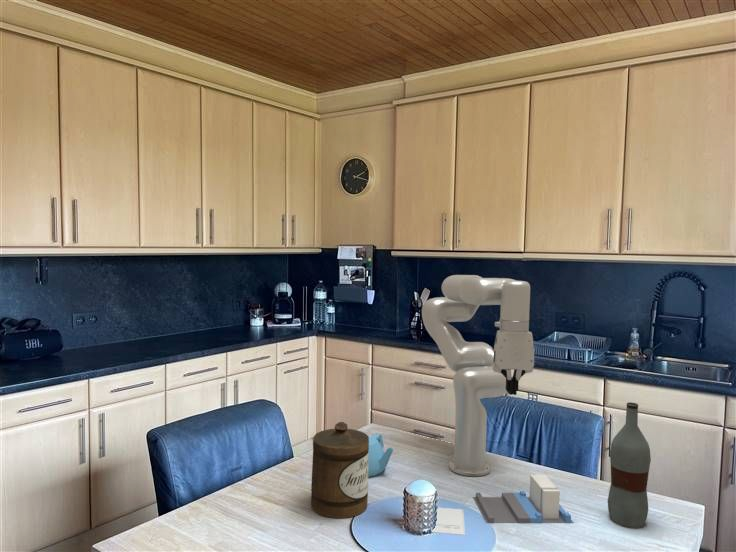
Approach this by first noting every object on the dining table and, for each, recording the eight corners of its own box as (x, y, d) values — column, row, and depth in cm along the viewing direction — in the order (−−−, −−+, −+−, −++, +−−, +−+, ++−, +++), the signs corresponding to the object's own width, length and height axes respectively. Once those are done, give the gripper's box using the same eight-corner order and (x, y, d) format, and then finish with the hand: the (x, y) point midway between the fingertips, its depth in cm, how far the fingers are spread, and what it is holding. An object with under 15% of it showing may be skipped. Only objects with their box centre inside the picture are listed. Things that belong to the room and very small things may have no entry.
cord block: (529, 500, 146) (530, 474, 146) (544, 500, 146) (545, 474, 146) (542, 518, 136) (543, 491, 136) (558, 518, 136) (559, 491, 136)
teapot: (394, 478, 160) (395, 442, 159) (343, 482, 157) (344, 445, 156) (382, 458, 175) (383, 425, 174) (335, 461, 172) (336, 428, 171)
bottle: (640, 513, 141) (646, 400, 140) (653, 531, 132) (659, 410, 131) (602, 509, 143) (607, 397, 142) (612, 527, 134) (617, 407, 133)
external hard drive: (463, 515, 139) (465, 541, 127) (431, 512, 141) (430, 537, 128) (463, 509, 139) (465, 534, 127) (431, 506, 140) (430, 531, 128)
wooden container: (355, 523, 133) (357, 435, 132) (301, 512, 138) (302, 427, 137) (375, 498, 147) (377, 418, 146) (325, 488, 152) (327, 411, 151)
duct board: (472, 499, 147) (472, 490, 147) (552, 500, 148) (552, 490, 148) (486, 526, 133) (486, 515, 133) (574, 526, 134) (574, 515, 134)
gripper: (490, 328, 142) (488, 397, 143) (546, 328, 143) (543, 397, 144) (483, 323, 150) (480, 389, 150) (536, 324, 150) (534, 390, 151)
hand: (511, 393), depth 147 cm, fingers closed
